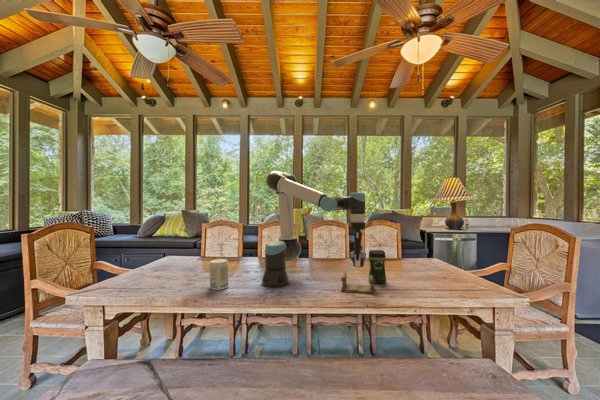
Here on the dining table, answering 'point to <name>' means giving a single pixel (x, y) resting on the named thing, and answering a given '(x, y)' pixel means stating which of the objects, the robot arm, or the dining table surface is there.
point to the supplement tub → (218, 274)
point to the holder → (357, 286)
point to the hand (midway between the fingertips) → (358, 264)
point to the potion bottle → (362, 257)
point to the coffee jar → (377, 266)
